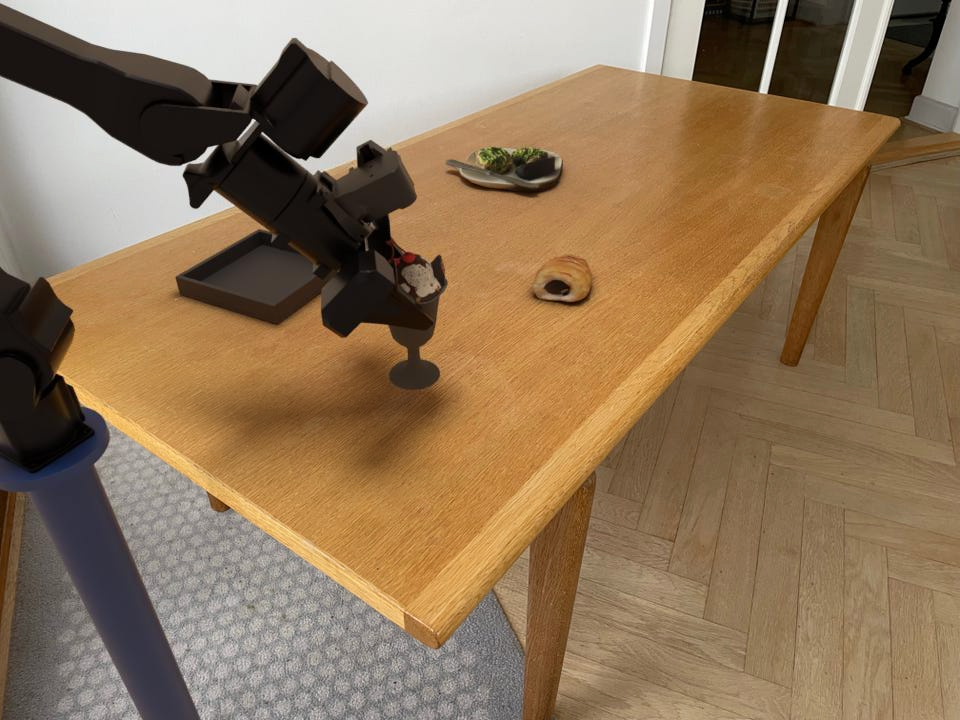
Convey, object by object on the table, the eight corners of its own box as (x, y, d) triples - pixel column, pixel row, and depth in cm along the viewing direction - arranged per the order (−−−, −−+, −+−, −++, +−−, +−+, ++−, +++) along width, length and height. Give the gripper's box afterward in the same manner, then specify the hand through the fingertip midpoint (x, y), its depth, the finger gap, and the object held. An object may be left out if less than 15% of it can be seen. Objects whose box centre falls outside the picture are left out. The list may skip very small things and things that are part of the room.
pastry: (548, 264, 95) (551, 238, 93) (599, 273, 94) (602, 246, 91) (529, 299, 88) (531, 271, 86) (583, 309, 86) (587, 281, 84)
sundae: (369, 390, 68) (356, 245, 59) (393, 351, 73) (384, 212, 64) (437, 401, 67) (433, 255, 58) (456, 360, 72) (456, 221, 63)
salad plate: (433, 189, 116) (432, 161, 114) (459, 152, 131) (458, 126, 128) (552, 200, 113) (554, 171, 110) (566, 160, 127) (568, 134, 125)
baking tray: (277, 324, 83) (273, 306, 82) (179, 294, 89) (174, 276, 87) (353, 268, 94) (351, 251, 93) (262, 245, 100) (259, 228, 99)
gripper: (352, 167, 48) (510, 299, 56) (348, 90, 63) (473, 203, 71) (250, 280, 51) (412, 389, 59) (269, 181, 66) (396, 280, 74)
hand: (426, 306), depth 66 cm, fingers closed on sundae, 6 cm apart
